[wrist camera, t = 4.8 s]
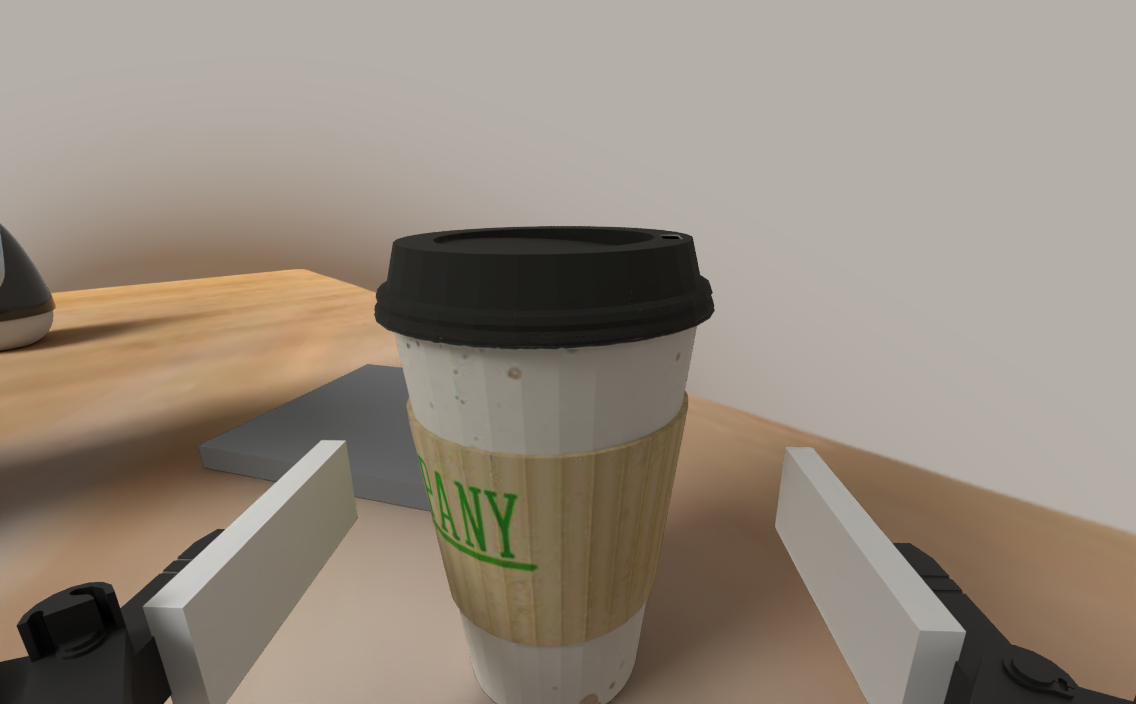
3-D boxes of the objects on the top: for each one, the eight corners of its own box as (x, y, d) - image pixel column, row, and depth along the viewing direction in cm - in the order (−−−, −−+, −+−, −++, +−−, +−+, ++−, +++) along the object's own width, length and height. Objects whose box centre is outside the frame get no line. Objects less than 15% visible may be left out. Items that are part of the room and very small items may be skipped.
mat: (203, 467, 32) (198, 445, 32) (369, 380, 47) (367, 364, 46) (499, 524, 27) (497, 498, 26) (584, 404, 41) (584, 386, 41)
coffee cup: (463, 548, 25) (437, 225, 20) (673, 560, 24) (694, 224, 19) (369, 766, 16) (281, 258, 11) (707, 799, 15) (761, 259, 10)
